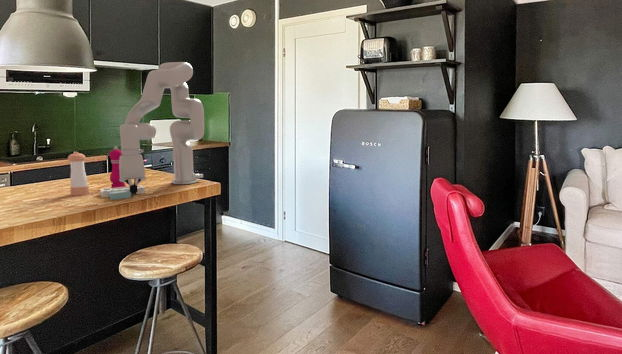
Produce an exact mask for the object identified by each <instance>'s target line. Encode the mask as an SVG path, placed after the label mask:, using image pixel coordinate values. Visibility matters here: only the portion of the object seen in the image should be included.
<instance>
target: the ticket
mask: <svg viewBox="0 0 622 354" xmlns="http://www.w3.org/2000/svg"><path fill="white" fill-rule="evenodd" d="M118 190H119V191H120V190H129V191H130V187H129V186H126V187H118V188H112V187H107V188H100V191H99V192H100V197H101V198H110V197H109V191H118ZM137 191H138V192H136V194H135V195H140V194H141V195H142V194H146V187H145V186H144V185H137ZM130 194H131V196H132V193H130Z"/></svg>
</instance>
